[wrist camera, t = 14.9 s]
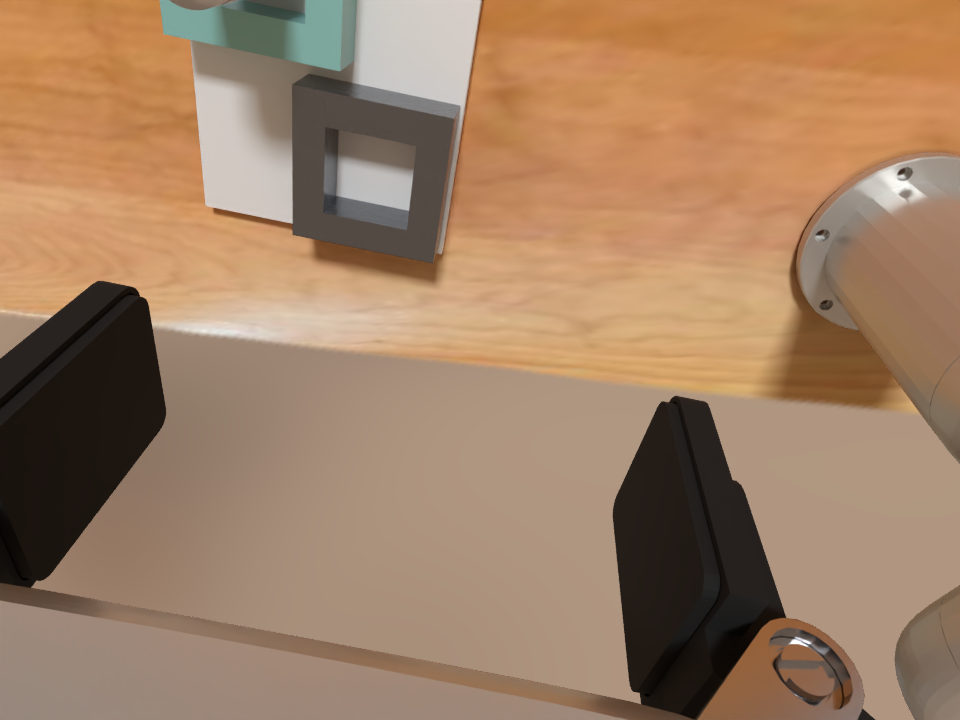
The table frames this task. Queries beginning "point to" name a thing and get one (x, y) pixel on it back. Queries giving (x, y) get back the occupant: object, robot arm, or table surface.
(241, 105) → the docking plate
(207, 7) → the silver metal cylinder
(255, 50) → the dock block
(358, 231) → the holder block
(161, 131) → the table surface
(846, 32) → the table surface
